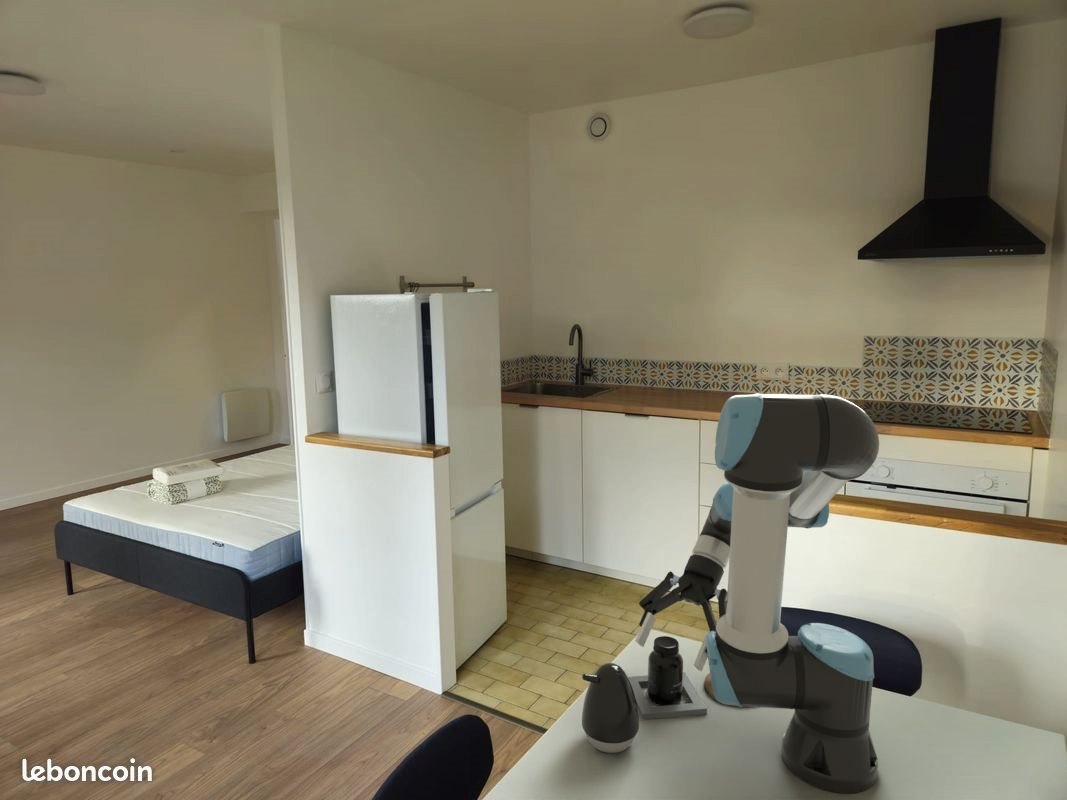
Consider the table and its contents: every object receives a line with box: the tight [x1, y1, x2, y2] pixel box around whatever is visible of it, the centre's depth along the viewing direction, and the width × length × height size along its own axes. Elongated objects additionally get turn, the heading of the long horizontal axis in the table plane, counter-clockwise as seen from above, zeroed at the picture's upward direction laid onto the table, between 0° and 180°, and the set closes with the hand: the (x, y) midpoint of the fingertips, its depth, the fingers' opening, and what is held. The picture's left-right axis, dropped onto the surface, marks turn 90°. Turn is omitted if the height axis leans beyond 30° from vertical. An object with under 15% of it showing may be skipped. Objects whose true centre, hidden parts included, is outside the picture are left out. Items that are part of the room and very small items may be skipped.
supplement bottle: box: [647, 635, 684, 706], centre depth 137 cm, size 7×7×12 cm
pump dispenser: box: [581, 662, 640, 754], centre depth 123 cm, size 10×10×15 cm
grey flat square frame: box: [627, 671, 708, 721], centre depth 138 cm, size 13×13×1 cm
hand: (667, 655), depth 138 cm, fingers open, 13 cm apart
